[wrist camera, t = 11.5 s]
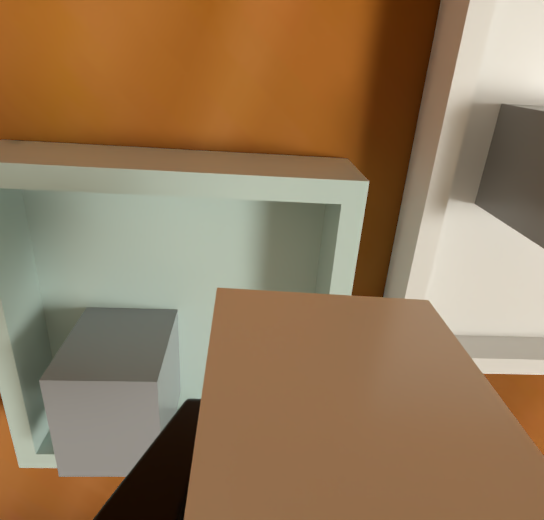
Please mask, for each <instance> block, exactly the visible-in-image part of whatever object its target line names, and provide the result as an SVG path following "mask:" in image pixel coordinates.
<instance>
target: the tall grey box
mask: <svg viewBox="0 0 544 520" xmlns="http://www.w3.org/2000/svg"><path fill="white" fill-rule="evenodd" d="M39 383H40V387H41V392H42V397H43V402H44V406H45V411H46V416H47V421H48V426H49V430H50V435H51V440H52V445H53V449H54V454H55V459H56V464H57V469H58V473H59V477H126V476H127V475H128V474H129V472H130V471H131V470H132V468H133V467H134V466H135V465H136V463H137V462H138V461H139V459H140V458H141V457H142V456H143V454H144V453H145V452H146V450H147V449H148V448H149V447H150V445H151V444H152V443H153V441H154V440H155V439H156V438H157V436H158V435H159V434H160V432H161V431H162V430H163V428H164V427H165V426H166V425H167V423H168V422H169V421H170V419H171V418H172V417H173V416H174V414H175V413H176V412H177V408H178V403H179V398H180V393H181V383H180V356H179V330H178V309H141V308H101V307H86V309H85V310H84V312H83V313H82V315H81V317H80V318H79V320H78V321H77V323H76V324H75V326H74V327H73V329H72V330H71V332H70V333H69V335H68V337H67V338H66V340H65V341H64V343H63V344H62V346H61V347H60V349H59V350H58V352H57V353H56V355H55V357H54V358H53V360H52V361H51V363H50V364H49V366H48V367H47V369H46V370H45V372H44V373H43V375H42V376H41V378H40V380H39Z"/></svg>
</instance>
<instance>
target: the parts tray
mask: <svg viewBox="0 0 544 520" xmlns="http://www.w3.org/2000/svg"><path fill="white" fill-rule="evenodd" d="M501 104H517V105H532V106H544V0H441V3H440V8H439V13H438V18H437V23H436V28H435V33H434V39H433V44H432V49H431V54H430V59H429V64H428V69H427V74H426V80H425V85H424V90H423V95H422V100H421V105H420V110H419V115H418V120H417V126H416V131H415V136H414V141H413V146H412V151H411V156H410V161H409V167H408V172H407V177H406V182H405V187H404V192H403V197H402V202H401V208H400V213H399V218H398V223H397V228H396V233H395V238H394V243H393V249H392V254H391V259H390V264H389V269H388V274H387V279H386V284H385V290H384V295H383V297H385V298H402V299H419V300H429V301H430V303H431V304H432V306H433V307H434V308H435V310H436V311H437V312H438V314H439V315H440V316H441V318H442V319H443V320H444V322H445V323H446V324H447V326H448V327H449V329H450V330H451V331H452V333H453V334H454V335H455V337H456V338H457V339H458V341H459V342H460V343H461V345H462V346H463V347H464V349H465V350H466V352H467V353H468V354H469V356H470V357H471V358H472V360H473V361H474V362H475V364H476V365H477V366H478V368H479V369H480V371H481V372H482V373H484V374H533V375H544V249H543V248H542V247H540V246H539V245H537V244H536V243H534V242H533V241H531V240H530V239H528V238H527V237H525V236H523V235H522V234H520V233H519V232H517V231H516V230H514V229H513V228H511V227H510V226H508V225H507V224H505V223H503V222H502V221H500V220H499V219H497V218H496V217H494V216H493V215H491V214H490V213H488V212H487V211H485V210H484V209H482V208H480V207H479V206H477V205H476V204H475V200H476V196H477V192H478V189H479V185H480V181H481V178H482V174H483V170H484V166H485V163H486V159H487V155H488V151H489V148H490V144H491V140H492V137H493V133H494V129H495V125H496V122H497V118H498V114H499V110H500V107H501Z"/></svg>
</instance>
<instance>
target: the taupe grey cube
mask: <svg viewBox="0 0 544 520" xmlns="http://www.w3.org/2000/svg"><path fill="white" fill-rule="evenodd" d="M475 204H476V205H477V206H479V207H480V208H482V209H484V210H485V211H487V212H488V213H490V214H491V215H493V216H494V217H496V218H497V219H499V220H500V221H502V222H503V223H505V224H507V225H508V226H510V227H511V228H513V229H514V230H516V231H517V232H519V233H520V234H522V235H523V236H525V237H527V238H528V239H530V240H531V241H533V242H534V243H536V244H537V245H539V246H540V247H542V248H543V249H544V106H532V105H517V104H501V107H500V110H499V114H498V118H497V122H496V125H495V129H494V133H493V137H492V140H491V144H490V148H489V151H488V155H487V159H486V163H485V166H484V170H483V174H482V178H481V181H480V185H479V189H478V192H477V196H476V200H475Z"/></svg>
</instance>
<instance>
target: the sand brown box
mask: <svg viewBox="0 0 544 520" xmlns="http://www.w3.org/2000/svg"><path fill="white" fill-rule="evenodd" d="M184 520H544V456H543V454H542V453H541V452H540V450H539V449H538V448H537V446H536V445H535V444H534V442H533V441H532V440H531V438H530V437H529V436H528V434H527V433H526V431H525V430H524V429H523V427H522V426H521V425H520V423H519V422H518V421H517V419H516V418H515V417H514V415H513V414H512V413H511V411H510V410H509V408H508V407H507V406H506V404H505V403H504V402H503V400H502V399H501V398H500V396H499V395H498V394H497V392H496V391H495V389H494V388H493V387H492V385H491V384H490V383H489V381H488V380H487V379H486V377H485V376H484V375H483V373H482V372H481V371H480V369H479V368H478V366H477V365H476V364H475V362H474V361H473V360H472V358H471V357H470V356H469V354H468V353H467V352H466V350H465V349H464V347H463V346H462V345H461V343H460V342H459V341H458V339H457V338H456V337H455V335H454V334H453V333H452V331H451V330H450V329H449V327H448V326H447V324H446V323H445V322H444V320H443V319H442V318H441V316H440V315H439V314H438V312H437V311H436V310H435V308H434V307H433V306H432V304H431V303H430V301H429V300H419V299H402V298H385V297H368V296H352V295H335V294H318V293H301V292H284V291H267V290H250V289H233V288H217V291H216V298H215V305H214V312H213V319H212V326H211V333H210V340H209V347H208V354H207V361H206V368H205V375H204V382H203V389H202V396H201V403H200V410H199V417H198V424H197V431H196V438H195V445H194V452H193V459H192V466H191V473H190V480H189V487H188V493H187V500H186V507H185V514H184Z"/></svg>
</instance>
